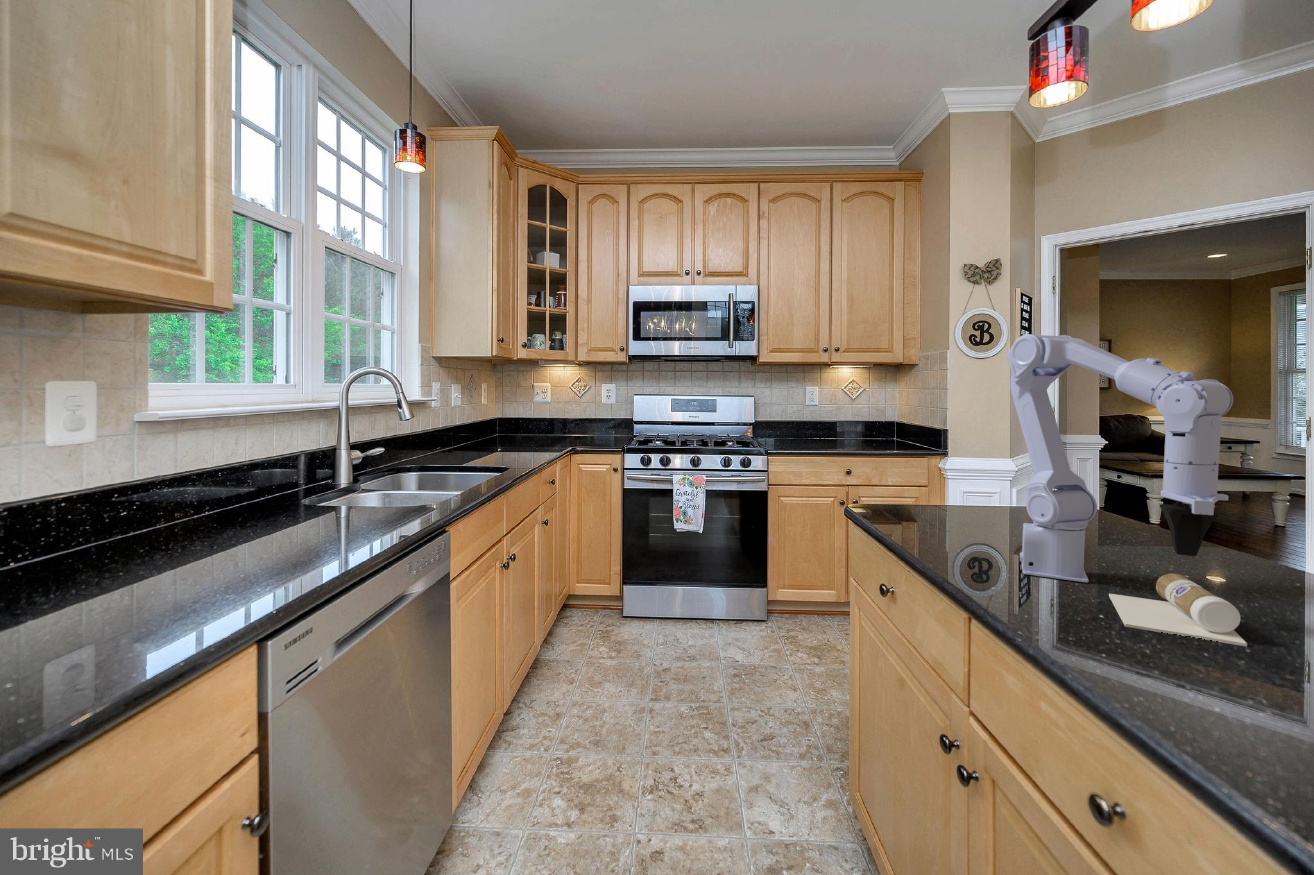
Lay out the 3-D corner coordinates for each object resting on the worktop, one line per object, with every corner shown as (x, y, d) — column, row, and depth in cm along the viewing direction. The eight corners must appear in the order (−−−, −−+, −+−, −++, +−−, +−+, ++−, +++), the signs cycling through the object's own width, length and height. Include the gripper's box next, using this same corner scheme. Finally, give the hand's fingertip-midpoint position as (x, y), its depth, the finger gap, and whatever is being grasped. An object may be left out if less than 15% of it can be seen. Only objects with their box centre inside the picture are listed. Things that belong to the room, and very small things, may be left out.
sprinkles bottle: (1166, 567, 85) (1210, 593, 73) (1199, 583, 84) (1250, 613, 71) (1147, 590, 86) (1188, 620, 74) (1180, 607, 85) (1227, 640, 72)
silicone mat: (1125, 626, 76) (1125, 623, 76) (1109, 595, 88) (1109, 593, 88) (1246, 646, 70) (1247, 643, 70) (1211, 610, 82) (1211, 607, 82)
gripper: (1248, 470, 71) (1241, 571, 72) (1212, 459, 83) (1207, 546, 84) (1175, 467, 75) (1170, 563, 76) (1151, 457, 87) (1147, 540, 88)
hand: (1185, 554), depth 80 cm, fingers closed
